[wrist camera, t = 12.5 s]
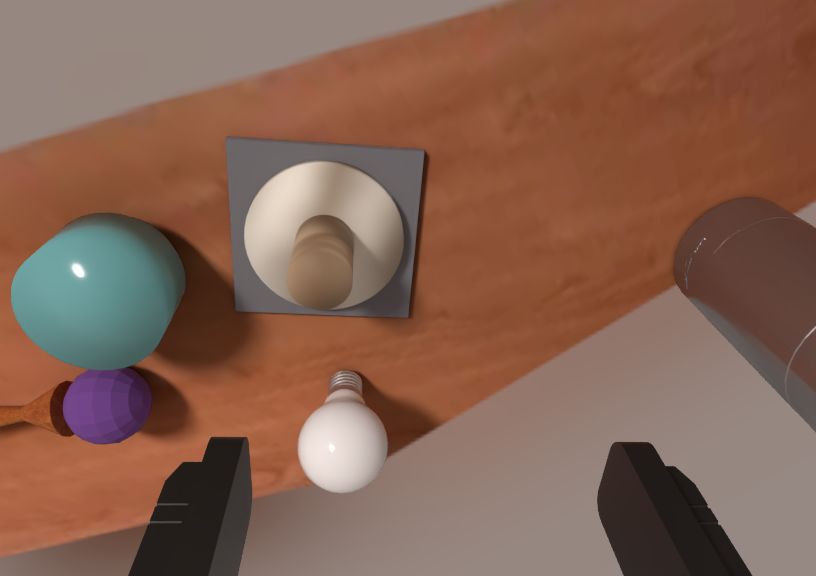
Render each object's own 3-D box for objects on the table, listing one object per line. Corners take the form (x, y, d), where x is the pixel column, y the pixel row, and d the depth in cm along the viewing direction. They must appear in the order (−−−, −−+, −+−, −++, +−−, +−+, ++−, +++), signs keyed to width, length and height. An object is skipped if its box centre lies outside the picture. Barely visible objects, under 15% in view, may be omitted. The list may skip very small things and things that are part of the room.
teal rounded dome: (187, 205, 42) (157, 248, 36) (197, 317, 46) (172, 372, 40) (49, 198, 41) (-5, 240, 35) (73, 312, 45) (28, 368, 39)
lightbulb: (304, 347, 48) (289, 445, 39) (384, 345, 49) (389, 441, 39) (309, 410, 51) (297, 515, 42) (384, 407, 52) (389, 511, 42)
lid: (409, 165, 41) (417, 201, 35) (397, 305, 46) (402, 359, 40) (243, 154, 40) (221, 190, 34) (249, 300, 45) (231, 353, 39)
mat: (423, 149, 41) (424, 152, 41) (407, 314, 47) (408, 317, 47) (227, 136, 40) (225, 139, 39) (236, 307, 46) (235, 311, 46)
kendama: (-148, 414, 44) (114, 382, 42) (-82, 376, 50) (152, 347, 48) (-114, 483, 46) (139, 456, 44) (-54, 440, 51) (172, 413, 50)
